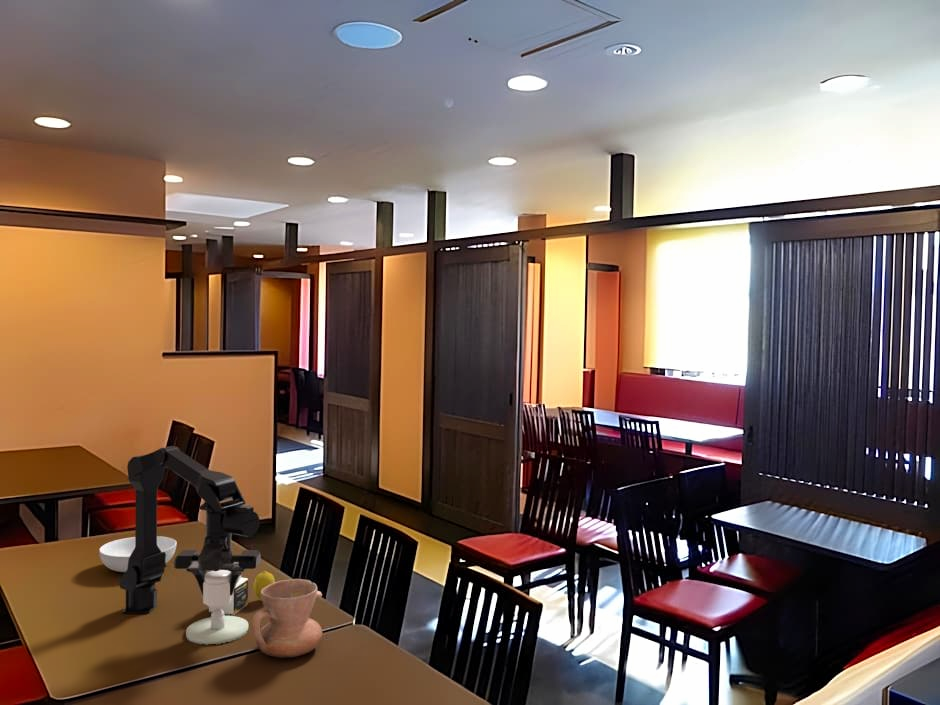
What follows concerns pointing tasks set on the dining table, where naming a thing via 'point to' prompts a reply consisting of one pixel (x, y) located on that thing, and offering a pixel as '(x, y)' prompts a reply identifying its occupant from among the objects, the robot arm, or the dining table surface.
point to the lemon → (262, 582)
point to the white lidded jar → (217, 588)
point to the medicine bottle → (235, 595)
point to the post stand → (217, 629)
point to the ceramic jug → (287, 619)
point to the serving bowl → (130, 552)
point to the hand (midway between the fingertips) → (217, 594)
